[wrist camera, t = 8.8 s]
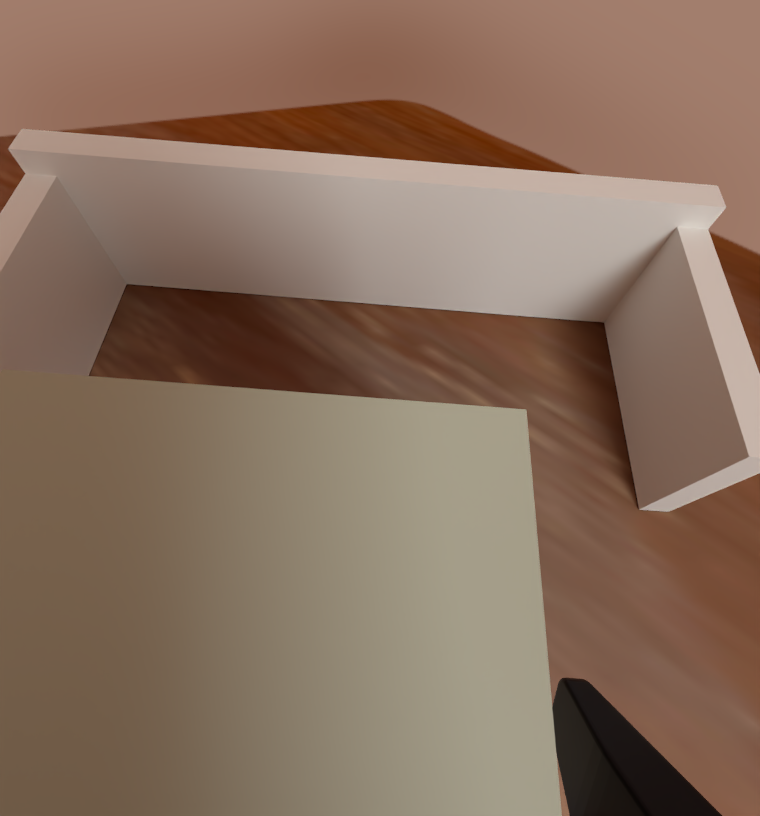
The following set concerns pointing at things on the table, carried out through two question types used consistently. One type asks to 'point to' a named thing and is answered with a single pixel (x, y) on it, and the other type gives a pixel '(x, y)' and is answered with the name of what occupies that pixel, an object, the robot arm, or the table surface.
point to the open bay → (396, 267)
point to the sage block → (267, 604)
